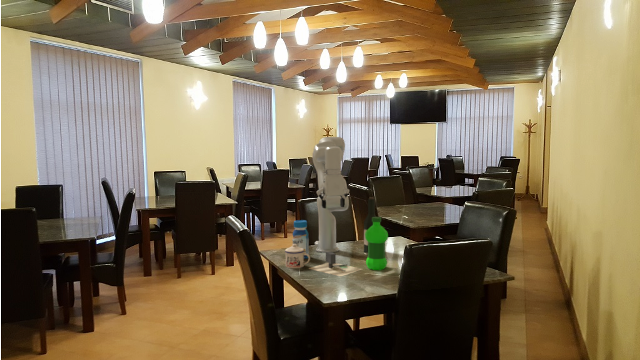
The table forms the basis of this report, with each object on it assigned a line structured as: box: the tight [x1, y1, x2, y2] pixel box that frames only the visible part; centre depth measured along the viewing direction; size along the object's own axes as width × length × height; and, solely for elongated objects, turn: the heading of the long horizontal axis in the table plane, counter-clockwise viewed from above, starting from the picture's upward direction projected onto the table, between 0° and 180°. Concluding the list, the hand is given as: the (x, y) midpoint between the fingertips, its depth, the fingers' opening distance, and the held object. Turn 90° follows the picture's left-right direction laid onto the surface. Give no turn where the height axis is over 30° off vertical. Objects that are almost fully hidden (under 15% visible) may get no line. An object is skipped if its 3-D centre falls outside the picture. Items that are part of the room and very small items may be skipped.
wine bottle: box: [363, 196, 377, 254], centre depth 252 cm, size 8×8×30 cm
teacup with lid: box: [284, 243, 311, 269], centre depth 220 cm, size 12×9×12 cm
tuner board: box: [307, 262, 363, 277], centre depth 214 cm, size 20×16×1 cm
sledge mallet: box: [325, 251, 348, 268], centre depth 217 cm, size 10×6×7 cm, turn 112°
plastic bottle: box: [365, 216, 389, 271], centre depth 214 cm, size 10×10×25 cm
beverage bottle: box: [291, 219, 310, 260], centre depth 236 cm, size 8×8×20 cm
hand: (333, 207), depth 225 cm, fingers open, 9 cm apart
